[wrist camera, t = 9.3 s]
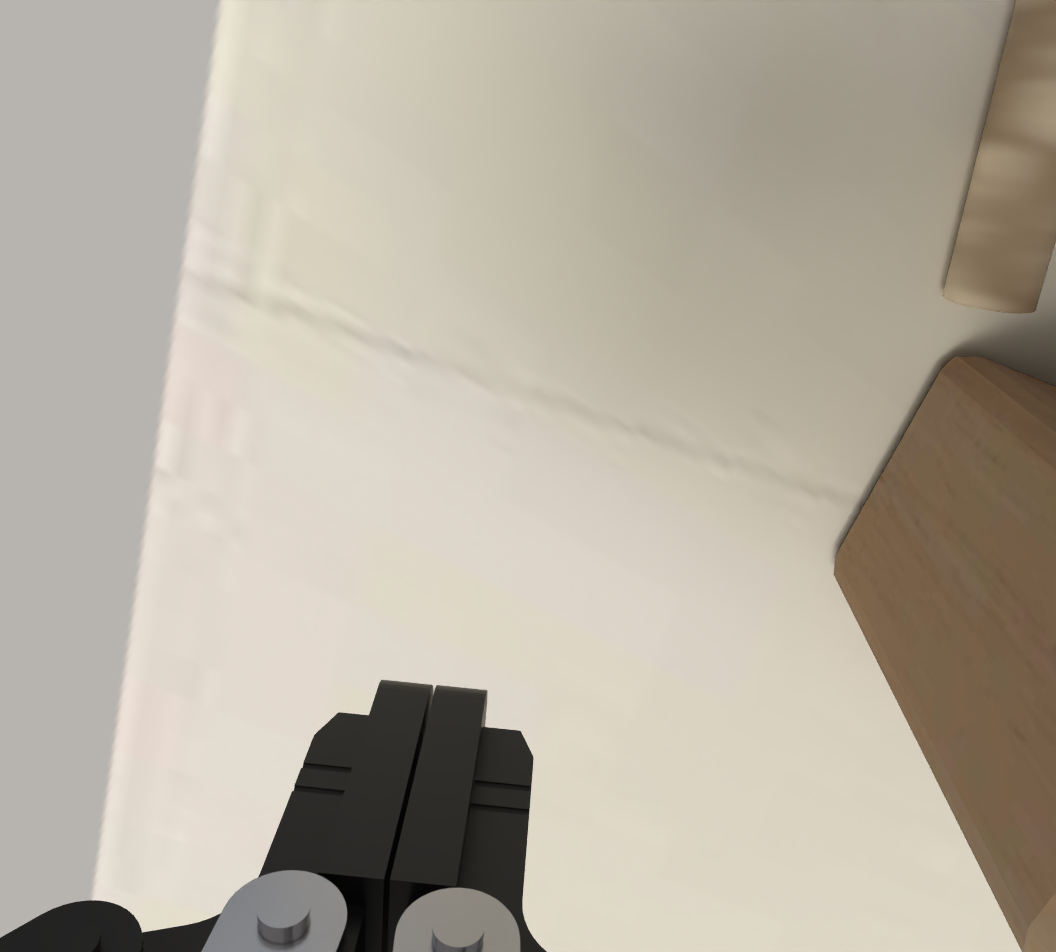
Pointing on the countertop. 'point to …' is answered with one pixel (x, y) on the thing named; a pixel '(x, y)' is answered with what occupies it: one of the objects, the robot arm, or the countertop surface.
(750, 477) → the countertop surface
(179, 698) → the countertop surface
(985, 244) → the roller
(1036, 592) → the wooden block
